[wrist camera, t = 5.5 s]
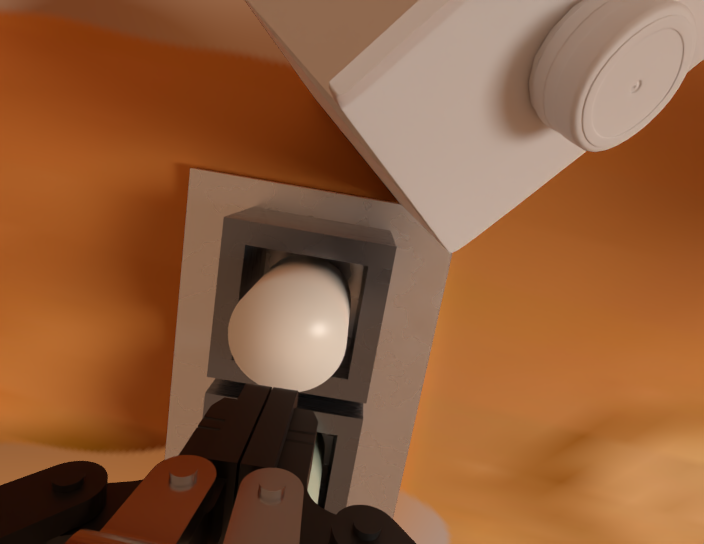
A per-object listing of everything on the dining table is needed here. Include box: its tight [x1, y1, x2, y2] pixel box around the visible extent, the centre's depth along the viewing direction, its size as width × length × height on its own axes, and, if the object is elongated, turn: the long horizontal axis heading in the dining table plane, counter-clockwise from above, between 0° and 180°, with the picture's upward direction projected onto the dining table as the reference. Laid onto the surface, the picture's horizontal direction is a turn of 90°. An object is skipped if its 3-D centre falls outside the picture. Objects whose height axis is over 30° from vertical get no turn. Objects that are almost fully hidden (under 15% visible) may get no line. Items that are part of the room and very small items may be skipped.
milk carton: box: [245, 0, 704, 253], centre depth 14 cm, size 7×7×19 cm
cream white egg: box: [228, 254, 351, 392], centre depth 19 cm, size 4×4×5 cm
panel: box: [165, 168, 452, 519], centre depth 24 cm, size 14×26×6 cm, turn 171°
